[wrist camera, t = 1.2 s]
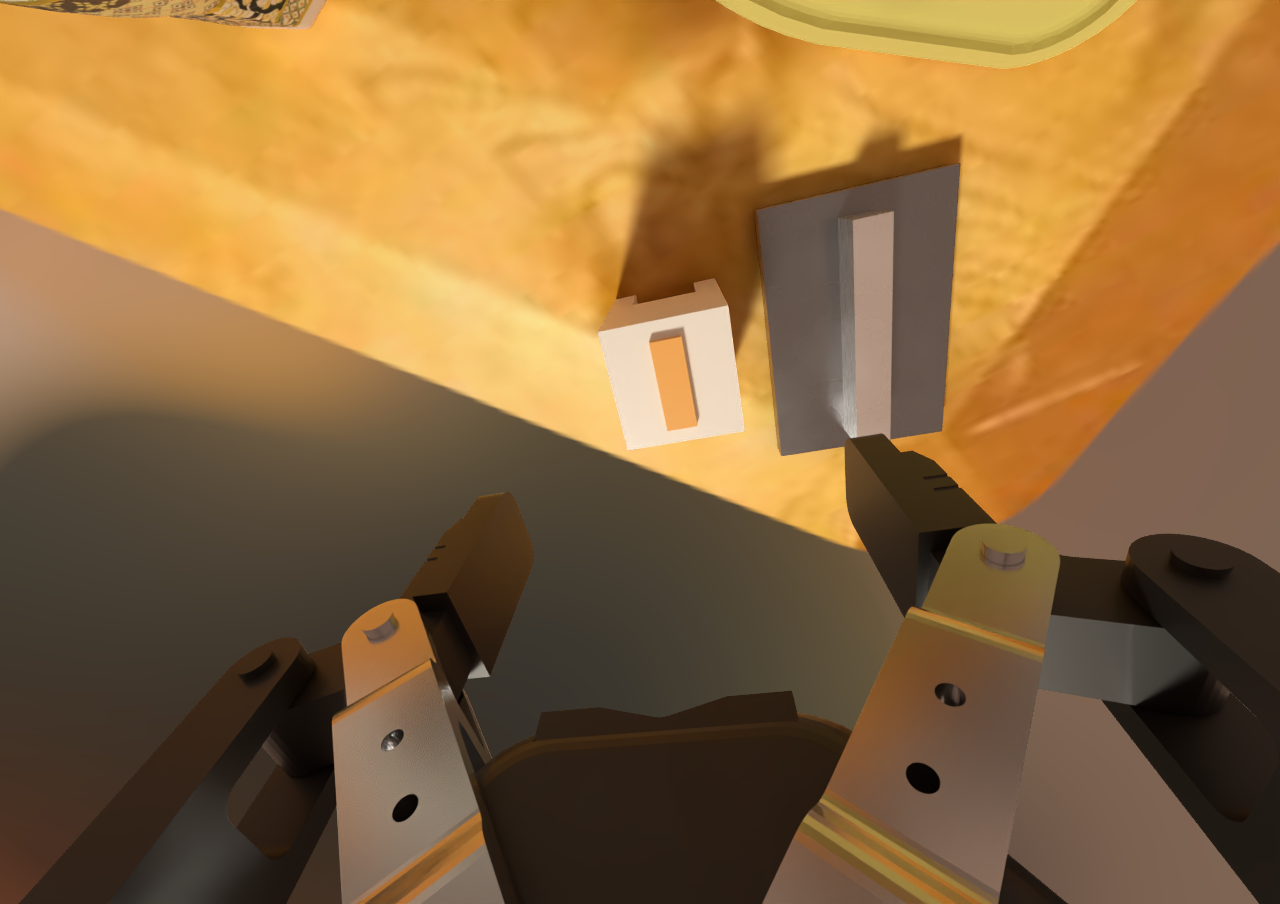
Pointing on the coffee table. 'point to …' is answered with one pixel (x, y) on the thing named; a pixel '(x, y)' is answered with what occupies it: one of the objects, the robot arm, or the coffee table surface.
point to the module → (673, 367)
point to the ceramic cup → (194, 10)
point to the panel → (859, 308)
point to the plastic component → (940, 26)
